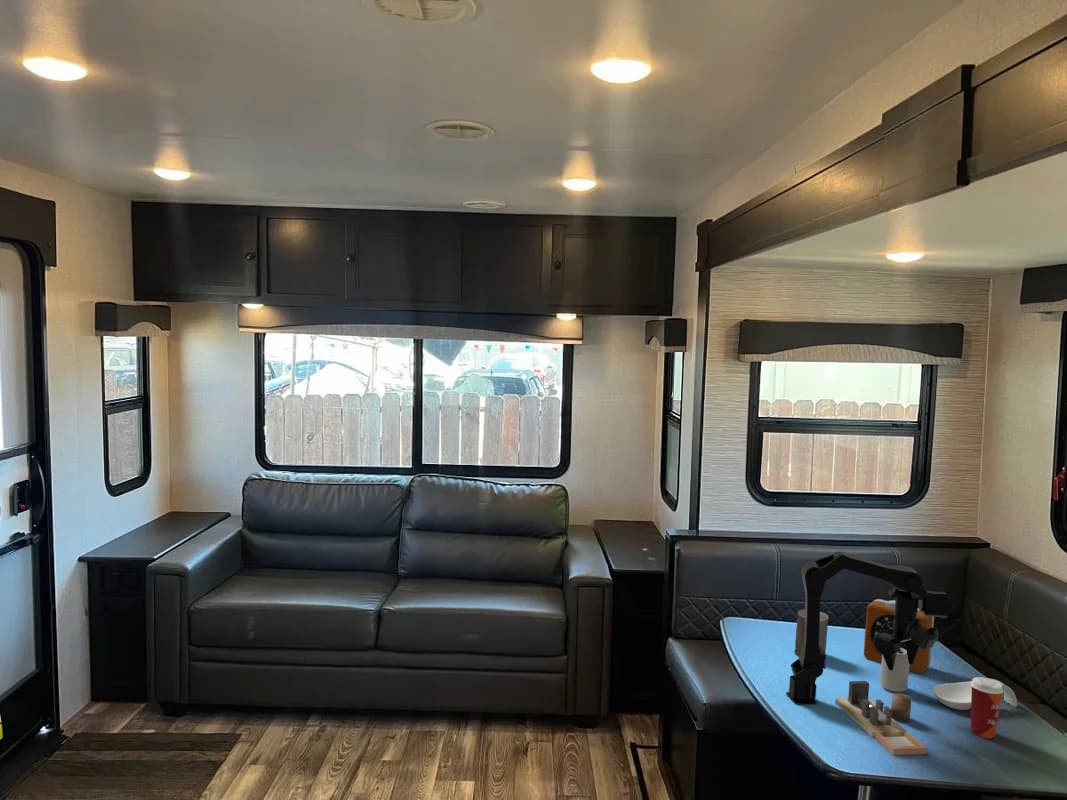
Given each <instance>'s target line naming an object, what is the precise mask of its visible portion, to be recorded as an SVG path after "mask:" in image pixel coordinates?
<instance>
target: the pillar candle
mask: <svg viewBox="0 0 1067 800" xmlns="http://www.w3.org/2000/svg"><path fill="white" fill-rule="evenodd" d="M796 617H797V618H796V628H795V629H796V631H795V641H794V642H795V643H794V648H795V649H794V651H793V652H794V654H795V655H796V656H798V657H799V656H800V651H801V647H802V645H803V642H804V629H805V609H801V610H799V611H797V616H796ZM829 619H830V618H829V615H828V614H827V613H824V612H822V611H820V629H819V647H822V648H823V650H824V652H825V654H826V651H827V642H828V641H827V638H828V627H829V626H828V625H829Z"/></svg>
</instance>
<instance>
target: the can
mask: <svg viewBox="0 0 1067 800" xmlns="http://www.w3.org/2000/svg"><path fill="white" fill-rule="evenodd" d="M900 650H901V651H900V652H898V653H897V654H896V658H895V664H894V668H893V670H892V671H891V670H889V669H888V667H887V664H886V662H885V659H884V657H883V654H882V663H880V664H881V665H880V677H879V681H880V682H879V683H880V685H881V686H882V688H883V689H884V690H887V691H889V692H891V693H901V694H902V693H905V691H907V690H908V685H909V674H910V673H909V672H910V671H909V661H908V656H907V651H906V650H905V649H903V648H900Z"/></svg>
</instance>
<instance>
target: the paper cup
mask: <svg viewBox="0 0 1067 800" xmlns="http://www.w3.org/2000/svg"><path fill="white" fill-rule="evenodd" d="M992 679H993V678H988V677H980V676H978V677H977V676H976V677H973V678H972V680H971V681H972V682H971V683H970V684H971V686H972V694H971V708H970V731H971V733H972V734H974V735H976V736H978V737H981V738H984V739H994V738H995V737H996V733H997V732H996V731H997V726H998V721H999V715H1000V714H999V713H1000V710H1001V709H1000V708H1001V701H1002V696H1003V694H1004V689H1003V688H1002V685H1001V684H1000V683H999V682H997V681H998V680H997V681H995V680H996V679H994V680H992Z"/></svg>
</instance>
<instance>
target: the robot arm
mask: <svg viewBox="0 0 1067 800" xmlns="http://www.w3.org/2000/svg"><path fill="white" fill-rule="evenodd" d="M800 569H801V578H802V584H803V588H804V593H805V594H804V595H805V599H804V610H805V629H804V642H803V645H802V647H801V651H800V656H798V659H796V660H795V661H794V662H791V664H790V668H791V671H792V673H793V675H790V676H789V688H788V691H786V692H785V695H786V696H787V697H788V698H789V699H790V700H791V701H792V702H793V703H794V704H796V705H810V704H811V705H812V704H814V705H815V704H817V703H818V701H817V700H816V698H817V684H816V681H817V679H818V678H819V677H821V676H822V675H823V673H824V670H827V667H826V663H825V662H826V658H827V654H826V653H825V652H824V650H823V648H822V647H819V629H820V612H821V598H822V595H823V592H824V591H825V590H824V589H825V586H826V581H828V580H830V579H831V578H833V577H834V576H835V575H837V574H838V573H840V572H841V571H843V570H846V571H847V570H848V571H850V572H855V573H858V574H862V575H864V576H867V577H872V578H874V579H879V580H881V581H886V582H888V583H890V584H891V585H893V586H894V587H893V588H892V589H890V590H888V591H887V593H888V595H889V596H890V597H891V598H895V611H894V614H891V618H892V619H894V623H893V628H890V630H889V632H890V633H893V634H894V636H892V635H890V634H887V633H881V634H877V635H875V636H874V642H873V643H874V644H876V646H877V647H879V648H880V650H881V652H882V654H883V657H884V659H885V662H886V664H887V667H888V669H889V670H891V671H892V670H893V668H894V664H895V658H896V654H897V653H898V652H900V651H901V650H900V648H901V645H902V642H904V641H905V643H906V649H907V656H908V661H909V664H911V665H913V664H914V662H915V660H916V658H917V655H918V653H919V651H920V649H921V648H922V649H927V648H930V647H931V648H933V646H934V645H935V643H937V642H938V641H939V635H940V634H939V629H938V628H937V627H936V626H933V627H931V628H929V629H927V627H925V628H924V627H923V626H921V620H920V619H919V618H917V610H918V608H919V611H922V613H923V615H926V616H934V618H935V617H937V618H946V619H947V618H948V617H949V615H950V607H949V604H950V603H949V600H948V594H947V593H946V591H932V590H931V591H928V590H926V588H925V587H924V586H923V579H922V576H921V575H920V574H919V573H918V572H917V571H916V570H915V569H914V568H912V567H911V566H907V565H899V564H898V565H897V564H892V565H891V564H890V565H889V564H884V563H880V562H876V561H873V560H869V559H865V558H862V557H857V556H855V555H850V554H847V553H845V552H843V551H836V552H834V553H832V554H831V555H826V556H823V557H821V558H818V559H816V560H814V561H813V560H812V561H810V560H809V561H807V562H805V563H804V564H803V565H802V566H801V568H800ZM898 588H899V589H898ZM913 593H914V594H913Z"/></svg>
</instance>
